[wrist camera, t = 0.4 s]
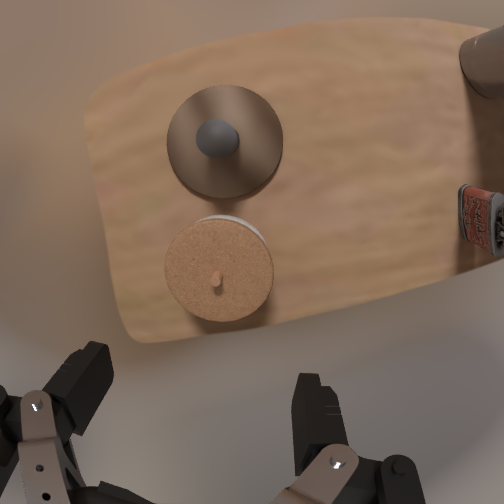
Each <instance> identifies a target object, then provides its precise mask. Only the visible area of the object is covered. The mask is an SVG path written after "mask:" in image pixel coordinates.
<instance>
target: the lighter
mask: <svg viewBox="0 0 504 504" xmlns="http://www.w3.org/2000/svg"><path fill="white" fill-rule="evenodd" d="M458 214H459V222H460V228H461V232H462V237H463V238H464V239H465V240H466V241H469V242H473V243H475V244H477V245H478V246H480V247H482V248H484V249H486V250H487V251H489V252H491V254H492V255H493V256H495V257H497V258H499V257H501V256H503V254H504V195H503V194H501V193H498V192H494V193H493V192H489V191H486V190H482V189H478V188H474V187H473V186H471V185H468V184H464V185H462V186H461V187H460V188H459V191H458Z"/></svg>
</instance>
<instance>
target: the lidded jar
mask: <svg viewBox="0 0 504 504" xmlns="http://www.w3.org/2000/svg"><path fill="white" fill-rule="evenodd" d="M165 276H166V281H167V284H168V287H169V289H170V291H171V293H172V295H173V296H174V297H175V299H176V300H177V301H178V302H179V303H180V305H181V306H182V307H184V308H185V309H186V310H187V311H189V312H190V313H192V314H194V315H196V316H198V317H200V318H203V319H206V320H210V321H217V322H228V321H235V320H238V319H241V318H244V317H246V316H248V315H250V314H251V313H253V312H254V311H256V310H257V309H258V308H259V307H260V306H261V305H262V304H263V303H264V301H265V300H266V299H267V297H268V295H269V293H270V290H271V287H272V284H273V277H274V274H273V263H272V258H271V255H270V251H269V249H268V246H267V244H266V242H265V240H264V238H263V237H262V235H261V234H260V233H259V232H258V230H257V229H256V228H254V227H253V226H252V225H251V224H249V223H248V222H246V221H245V220H242V219H240V218H238V217H234V216H230V215H213V216H208V217H205V218H203V219H200V220H198V221H196V222H195V223H193V224H191V225H190V226H189V227H187V228H185V229H184V230H183V231H182V232H181V233H180V234H179V235H178V236H177V237H176V238H175V239H174V241H173V242H172V244H171V246H170V247H169V249H168V252H167V255H166V260H165Z"/></svg>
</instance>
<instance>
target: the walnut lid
mask: <svg viewBox="0 0 504 504" xmlns="http://www.w3.org/2000/svg"><path fill="white" fill-rule="evenodd" d="M282 147H283V134H282V128H281V124H280V122H279V119H278V117H277V115H276V113H275V111H274V110H273V108H272V107H271V106H270V104H269V103H268V102H267V101H266V100H265V99H263V98H262V97H261V96H259V95H258V94H256V93H255V92H253V91H251V90H248V89H246V88H243V87H239V86H233V85H219V86H213V87H209V88H206V89H204V90H201V91H199V92H197V93H196V94H194V95H192V96H191V97H190V98H188V99H187V100H186V101H185V102H184V103H183V104H182V105H181V106H180V107H179V109H178V110H177V111H176V113H175V115H174V116H173V118H172V121H171V123H170V126H169V129H168V135H167V151H168V156H169V160H170V162H171V165H172V167H173V169H174V171H175V172H176V174H177V175H178V177H179V178H180V179H181V180H182V181H183V182H184V183H185V184H186V185H187V186H189V187H190V188H191V189H193V190H195V191H196V192H198V193H201V194H203V195H206V196H209V197H215V198H233V197H238V196H242V195H244V194H247V193H249V192H251V191H253V190H255V189H256V188H258V187H259V186H261V185H262V184H263V183H264V182H265V181H266V180H267V179H268V178H269V177H270V176H271V174H272V173H273V171H274V170H275V168H276V166H277V164H278V162H279V159H280V156H281V153H282Z"/></svg>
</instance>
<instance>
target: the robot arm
mask: <svg viewBox="0 0 504 504" xmlns="http://www.w3.org/2000/svg"><path fill="white" fill-rule="evenodd" d="M460 62H461V66H462V69H463V71H464V74H465V76H466V78H467V79H468V81H469V82H470V84H471V85H472V86H473V88H474V89H475V90H476V91H477V92H479V93H480V94H481V95H483V96H485V97H487V98H499V97H504V26H501V27H498V28H496V29H493V30H490V31H488V32H486V33H483V34H480V35H478V36H476V37H473V38H471V39H469V40H467V41H465V42H464V43H463V44H462V46H461V48H460ZM113 377H114V371H113V366H112V361H111V357H110V352H109V347H108V345H106V344H103V343H98V342H95V341H90V342H89V343H88V344H87V345H86V346H85V348H84V349H83V350H81V349H79V350H77V351H76V352H74V353H72V354H71V355H70V356H69V357H68V358H67V359H66V361H65V362H64V364H62V365H61V367H60V368H59V370H57V372H56V373H55V374H54V375H53V377H52V378H51V379H50V381H49V382H48V383H47V384H46V385H45V387H44V388H43V389H42V390H34V391H31V392H28V393H27V394H25V395H24V396H23V397H17V396H10V395H8V394H7V392H6V390H5V388H4V387H3V386H1V385H0V497H1V495H2V493H3V491H4V488H5V487H6V484H7V482H8V480H9V478H10V476H11V474H12V472H13V471H14V469H15V467H16V465H17V463H18V461H20V468H21V474H22V480H23V486H24V491H25V496H26V500H27V504H155V503H152V502H150V501H148V500H146V499H144V498H142V497H140V496H138V495H136V494H135V493H133V492H131V491H129V490H127V489H124V488H121V487H118V486H114V485H112V484H109V483H106V482H103V481H100V484H99V486H98V487H96V486H95V487H94V486H88V487H87V486H86V484H85V482H84V480H83V478H82V476H81V473H80V470H79V467H78V463H77V460H76V457H75V453H74V450H73V445H72V442H71V439H70V437H71V435H72V433H75V434H77V435H80V436H82V435H83V434H84V432H85V430H86V428H87V426H88V424H89V422H90V421H91V419H92V417H93V416H94V414H95V412H96V410H97V408H98V407H99V405H100V403H101V401H102V400H103V398H104V396H105V395H106V393H107V391H108V389H109V388H110V386H111V384H112V382H113ZM291 408H292V409H291V413H292V429H293V444H294V461H295V476H299V477H298V478H297V479H296V480H295V482H294V483H293V484H292V485H291V486H290V487H288V488H285V489H284V490H282V491H281V493H279V495H277V496H276V497H275V498H274V499H273V500H272V501H271V502H270V503H269V504H426V503H425V499H424V495H423V491H422V487H421V483H420V480H419V476H418V473H417V470H416V466H415V464H414V462H413V461H412V460H411V459H410V458H408V457H406V456H403V455H392V456H389V457H387V458H386V459H385V460H384V461H383V462H382V461H376V460H370V459H365V458H362V457H360V456H358V455H357V454H356V452H355V451H354V450H353V449H352V448H350V447H349V445H348V441H347V437H346V432H345V427H344V423H343V419H342V415H341V410H340V407H339V402H338V397H337V395H336V393H335V392H334V391H333V390H332V388H331V387H330V386H321V383H320V378H319V375H318V374H314V373H300V374H299V376H298V380H297V384H296V388H295V392H294V395H293V399H292V407H291Z"/></svg>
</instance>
